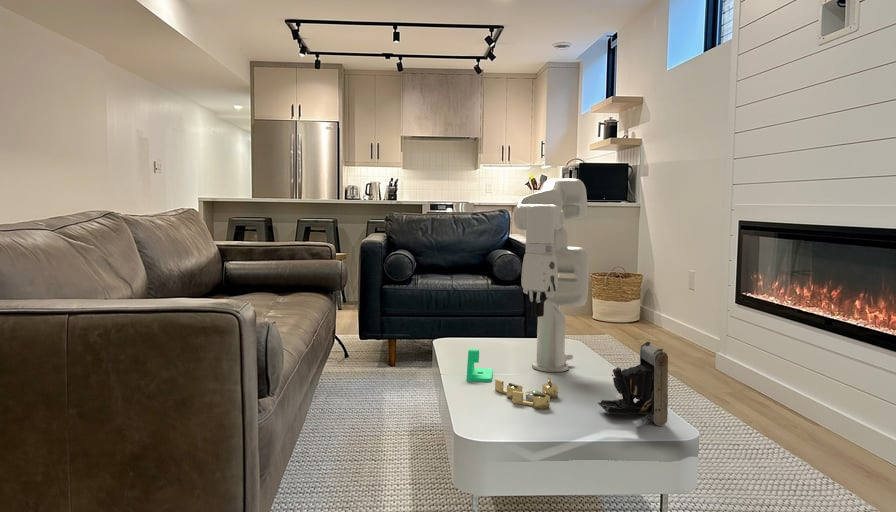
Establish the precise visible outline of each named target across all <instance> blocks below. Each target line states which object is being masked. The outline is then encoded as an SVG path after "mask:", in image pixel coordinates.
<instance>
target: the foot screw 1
mask: <svg viewBox="0 0 896 512" xmlns="http://www.w3.org/2000/svg"><path fill="white" fill-rule="evenodd" d="M494 383H495V384H494V391H496V392H498V393H499V392H500V393H502V394H503V395H506V398H507V399H510V400H512V398H513V391H518V392H523V386H522V385H519V384H514V383H512V382H509V383H508V384H507V385H506V389H504V385H505V384H504V380H502V379H498V378H495V379H494Z"/></svg>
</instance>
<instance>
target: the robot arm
mask: <svg viewBox="0 0 896 512" xmlns="http://www.w3.org/2000/svg"><path fill="white" fill-rule="evenodd" d="M587 194H588V193H587V188H586V186H585V184H584V182H583V181H582V180H581V179H579V178H551V179H546V180H545V181H544V182H543V183H542V184H541V186H540V188H539V190H538V191H537V192H535V193H532V194H528V195H526V196H523V197H521V198H520V199H519V200H518V202H517V204H516V205H515V208H514V211H513V218H512V219H513V224H514V227H515V228H516V229H518V230H519V231H525V253H524V255H523V261H522V268H521V279H520V280H521V288H522V292H523V293H524V294H526V295H528V297H529V301H530V302H531V312H530V313H531V314H530V315H531V317H534V318H537V327H536V328H537V329H536V335H537V336H536V360H535V361H532V363H531V367H532V368H533V370H537V371H540V372H541V371H542V372H548V373H563V372H565V371H567V370H569V366H570V365H569V364H568V363H567V361H570V360H571V361H572V360H573V358H574V355H573V354H572V353H570V354H565V350H566V349H565V346H566V316H565V313H564V312H563V311H562V309H560V307H561V306H565V307H567V306H568V307H582V306H585V305H586V304H587V302H588V295H589V274H590V272H589V271H590V262H589V261H590V259H589V258H590V257H589V253H588V251H587V249H585V248H584V247H580V246H569V245H568V237H569V233H568V231H567V228H565V226H564V224H565V220H568V221H569V220H575V221H576V220H583V219H584V218H585V217H586V216H587V213H588V212H587V211H588V199H587V198H588V197H587ZM560 274H561V275H573V276H574V277H575V278H574V277H570V278H569V277H560V276H558V275H560Z"/></svg>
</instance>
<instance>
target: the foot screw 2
mask: <svg viewBox="0 0 896 512" xmlns="http://www.w3.org/2000/svg"><path fill="white" fill-rule="evenodd" d="M511 400H512V401H511V403H512V404H516V405H522V406H523V405H525V406H529V407H530V406H531V407H532V408H533V409H535V410H537V411H538V410H540V411H547V410H549V409H550V406H551V405H550V403H551V399H550V396H549V395H546V394H538V393H533V402H527V401H526V400H524V392H523V391H522V392H518V391H513V398H512V399H511Z"/></svg>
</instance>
